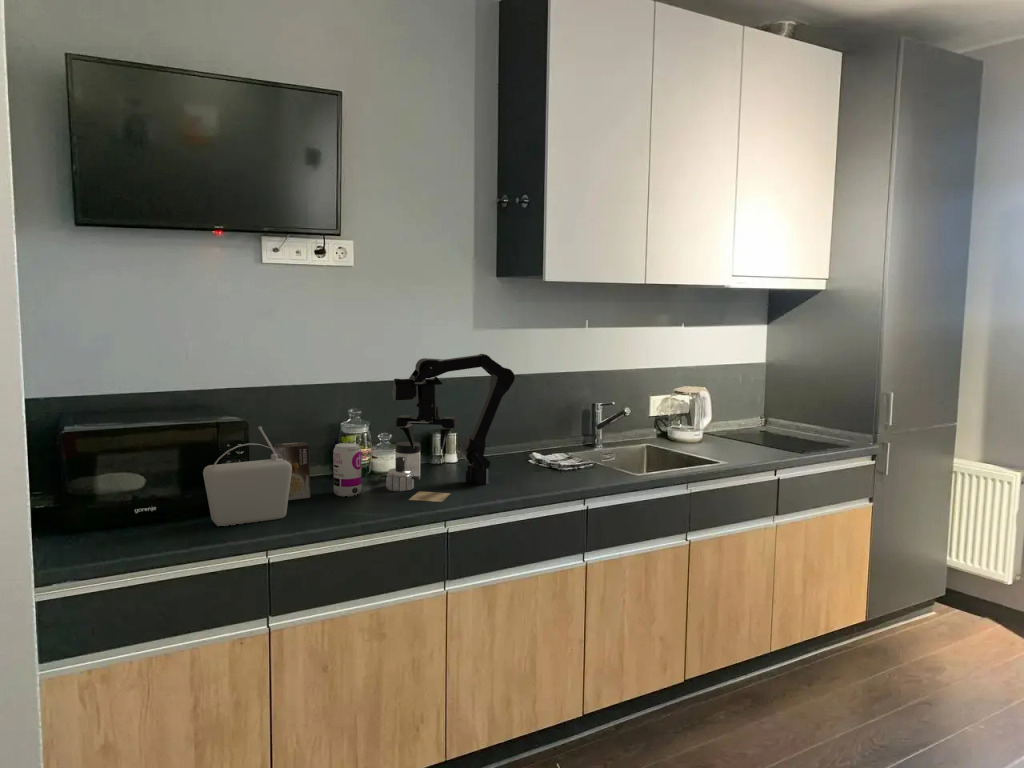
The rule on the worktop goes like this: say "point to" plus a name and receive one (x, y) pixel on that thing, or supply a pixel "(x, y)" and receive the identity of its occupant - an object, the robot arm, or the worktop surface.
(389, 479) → the pot
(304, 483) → the coffee box
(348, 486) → the supplement can
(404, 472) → the lid
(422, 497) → the plate
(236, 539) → the worktop surface
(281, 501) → the radio
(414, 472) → the jar
